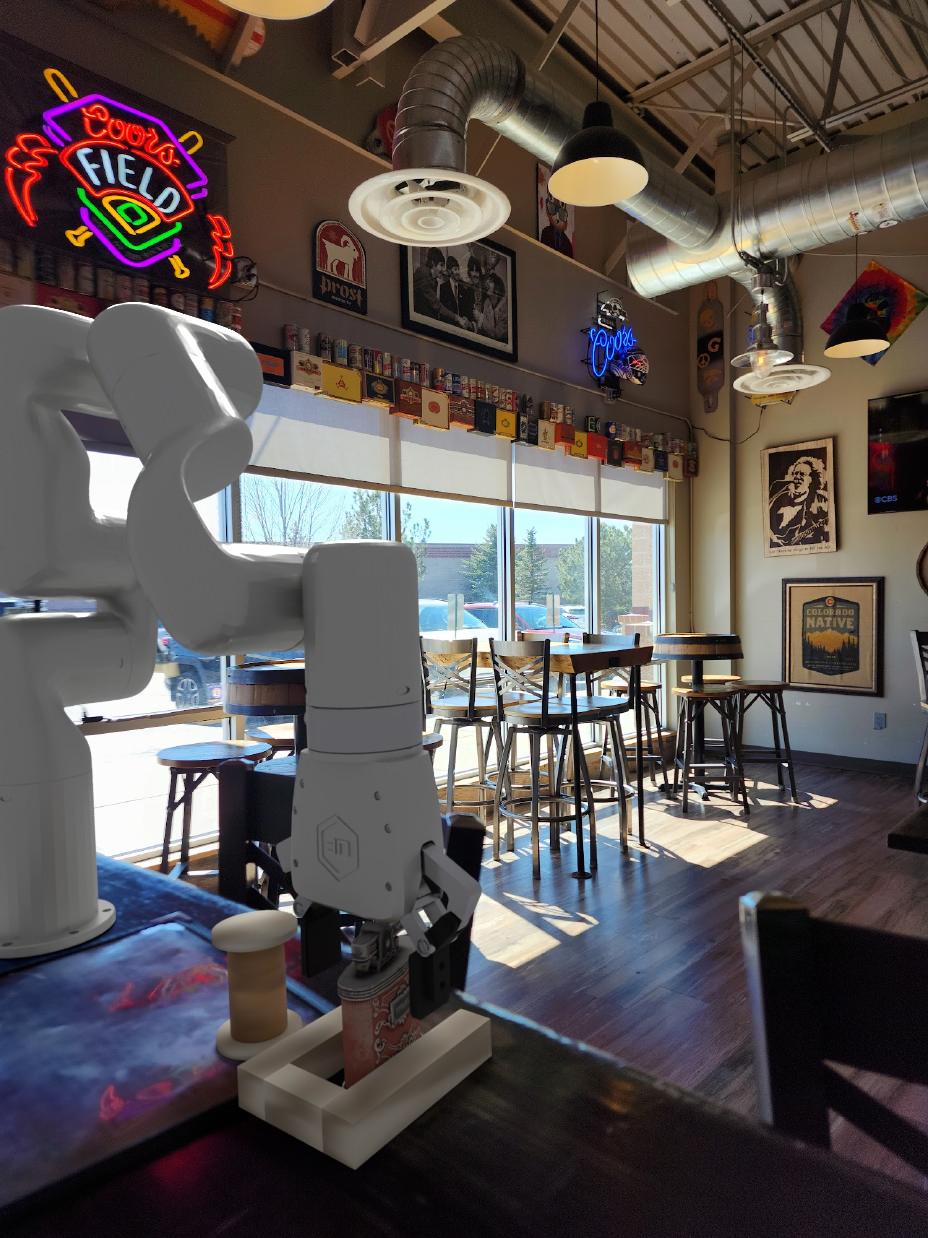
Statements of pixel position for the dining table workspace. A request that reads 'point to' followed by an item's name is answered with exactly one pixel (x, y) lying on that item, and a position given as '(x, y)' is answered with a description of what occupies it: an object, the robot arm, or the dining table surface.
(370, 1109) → the notched board
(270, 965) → the bobbin
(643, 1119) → the dining table surface
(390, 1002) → the lighter
